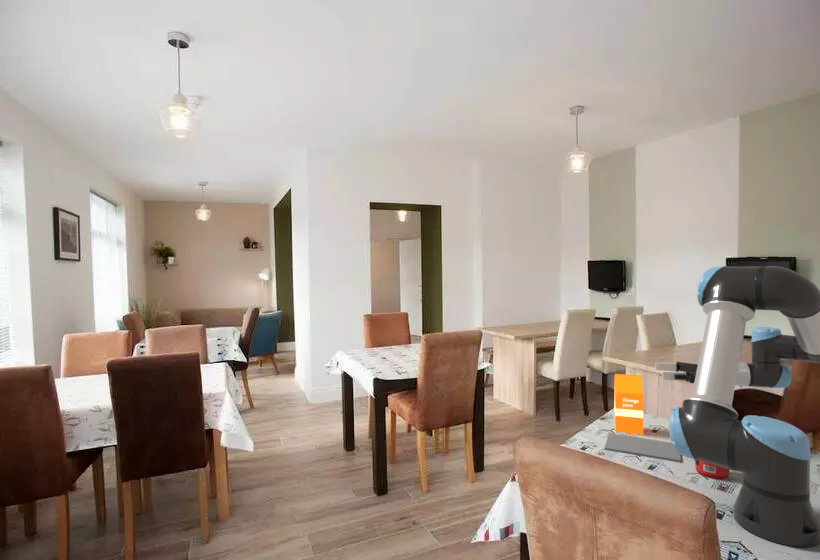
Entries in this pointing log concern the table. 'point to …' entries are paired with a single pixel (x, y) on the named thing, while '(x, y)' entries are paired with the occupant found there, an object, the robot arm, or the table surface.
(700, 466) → the canned food
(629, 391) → the orange juice
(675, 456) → the mat
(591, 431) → the table surface
